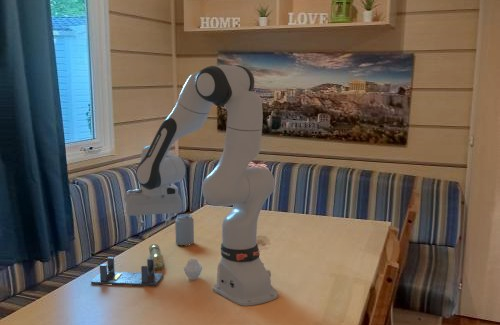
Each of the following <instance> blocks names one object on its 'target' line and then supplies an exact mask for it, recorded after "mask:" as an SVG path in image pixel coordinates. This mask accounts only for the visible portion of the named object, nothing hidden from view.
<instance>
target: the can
mask: <svg viewBox="0 0 500 325" xmlns="http://www.w3.org/2000/svg"><path fill="white" fill-rule="evenodd" d="M174 222H175V225H174V226H175V230H174V231H175V244H177V245H178V244H179V245H189V244H191V245H193V244H194V242H195V227H194V225H195V224H194V223H195V222H194V218H193V215H191V214H187V213H184V214H183V213H182V214H181V213H180V214H178V215H177V216H176V218H175V221H174ZM179 245H178V246H179ZM189 246H190V245H189Z"/></svg>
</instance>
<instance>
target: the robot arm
mask: <svg viewBox="0 0 500 325" xmlns="http://www.w3.org/2000/svg"><path fill="white" fill-rule="evenodd" d="M254 87H255V77H254V74H253V73H252V71H251V70H250V69H249V68H247V67H245V66H242V65H238V64H237V65H229V64H218V65H208V66H206V67H204V68H202V69H200V71H197V72H194V73H192V74H190V75H189V76H188V78H187V79H186V81H185V83H184V85H183V86H182V89H181V91H180V93H179V96H178V99H177V100H176V104H175V106H174V108H173V109H172V110H171V112H170V114H169V115H168V116H167V117H166V118H165V120H163V122H162V123H161V125H160V126H159V128H158V129H157V132H156V134H155V135H154V138H153V140H152V142H151V143H150V145H147V146H144V147H143V148H142V149H141V153H140V154H141V155H140V161H139V163H138V164H137V167H136V170H135V171H136V173H135V175H136V180H137V182H138V183H139V185H140V187H141V188H140V189H129V190H128V191H126V192H125V193H124V200H125V202H126V204H125V213H126V215H127V216H128V217H131V216H132V217H133V216H135V217H136V220H137V221H138V223H139V228H142V227H145V225H144V222H145V221H144V220H141V216H150V215H151V216H152V215H162V214H164V215H165V214H167V215H168V217H167V218H166V219H165V220H164V222H165V226H170V225H171V220H172V218H173V214H178V213H180V214H181V212H182V211H183V202H182V198H181V195H180V194H179V187H178V186H177V185H175V183H179V182H181V181H183V180H184V179H185V177H186V175H187V166H186V162H185V160H184V159H183V158H181V157H180V156H178V155H174V154H173V153H171V152H169V151H170V149H171V148H172V146H173V144H174V143H175V142H177V141H179V140H181V139H182V138H183V137H185V136H187V135H190V134H192V133H194V132H196V131H199V130H200V129H201V128H202V127H203V126H204V124H205V123H206V121H207V119H208V117H209V114H210V112H211V109H212V106H213V105H215V106H217V107H223V106H224V107H225V109H226V111H227V117H226V118H227V119H226V130H225V139H224V140H225V141H224V147H223V151H222V154H221V157H220V158H219V160H218V163H217V164H216V166H215V167H214V168H213V170H211V171H210V173H209V174H208V175H207V176H205V177H204V180H203V182H202V185H201V193H202V197H203V198H204V200H205V201H206V202H207V204H209V205H210V206H216V207H219V206H220V207H228V206H232V205H234V206H233V207H232V210H231V211H230V212H229V213H228V214H227V215H226V216H225V217H224V219H223V220H222V224H221V226H222V228H221V229H222V230H221V231H222V232H221V233H222V237H221V239H222V241H221V242H222V243H221V244H220V245H221V246H220V254H221V259H220V261H219V262H218V264H217V272H216V273H217V274H216V284H215V285H214V286H213V288H212V291H213V292H215V293H217V294H218V295H221V296H222V297H224V298H226V299H228V300H230V301H231V302H234V303H235V304H237V305H239V306H246V307H247V306H256V305H260V304H265V303H269V302H271V301H274V300H276V299H277V298H278V297H279V291H277V290H276V289H275V287H273V285H271V284H272V282H271V277H272V273H271V270H270V269H267V268H266V267H265V263H263V262H262V260H261V259H260V254H261V253H260V252H261V251H260V249H259V245H258V242H257V232H258V231H257V230H258V221H259V220H258V219H259V217H260V214H261V210H262V208H263V206H264V204H265V202H266V200H267V199H268V198H269V197H270V196H271V195H272V194H273V193H274V189H275V185H276V182H275V177H274V175H273V173H272V172H271V170H269V169H268V168H266V167H259V166H251V167H248V166H249V164H250V163H251V162H252V161H253V160H254V159H256V158H257V157H258V155H259V154H260V151H261V147H262V145H261V144H262V136H263V135H262V134H263V125H264V124H263V119H264V114H263V113H264V112H263V110H264V109H263V101H262V98H261V96H260V95H259V94H257V93H256V92H254V91H253V90H254Z"/></svg>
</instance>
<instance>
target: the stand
mask: <svg viewBox="0 0 500 325" xmlns="http://www.w3.org/2000/svg"><path fill="white" fill-rule="evenodd" d="M106 260H107V262H106V263H107V264H105V263H104V264H100V265H99V273H98V274H97V275H96V276H95V277H94V278H93V279H92V280H91V281H90V285H91V284H112V285H111V286H117V285H132V286H131V287H144V286H154V287H153V288H157V287H156V286H158V285H159V284H158V283H160V282H161V281H162V279H163V278H164V273H161V272H159V273H156V272H155V270H154V259H151V257H150V258H147V259H146V261H147V262H146V263H147V264H146V265H141V267H140V268H141V272H133V271H129V272H128V271H115V270H116V269H115V257H112V256H108V257H107V259H106ZM162 277H163V278H162ZM161 278H162V279H161ZM160 280H161V281H160Z"/></svg>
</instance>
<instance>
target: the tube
mask: <svg viewBox="0 0 500 325" xmlns="http://www.w3.org/2000/svg"><path fill="white" fill-rule="evenodd" d="M148 251H149V256H150V259H154V271H156V270H159V271H161V270H163V268H164V266H165V263H164V260H163V256H162V252H161V248H160V246H159V244H157V243H152V244H150V245H149V248H148Z"/></svg>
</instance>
